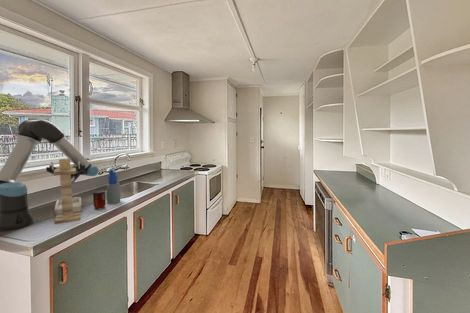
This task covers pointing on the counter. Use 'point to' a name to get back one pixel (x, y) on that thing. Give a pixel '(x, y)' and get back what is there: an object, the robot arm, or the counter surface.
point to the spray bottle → (113, 188)
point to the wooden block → (64, 164)
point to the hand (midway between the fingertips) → (65, 163)
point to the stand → (66, 197)
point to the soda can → (99, 199)
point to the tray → (76, 206)
